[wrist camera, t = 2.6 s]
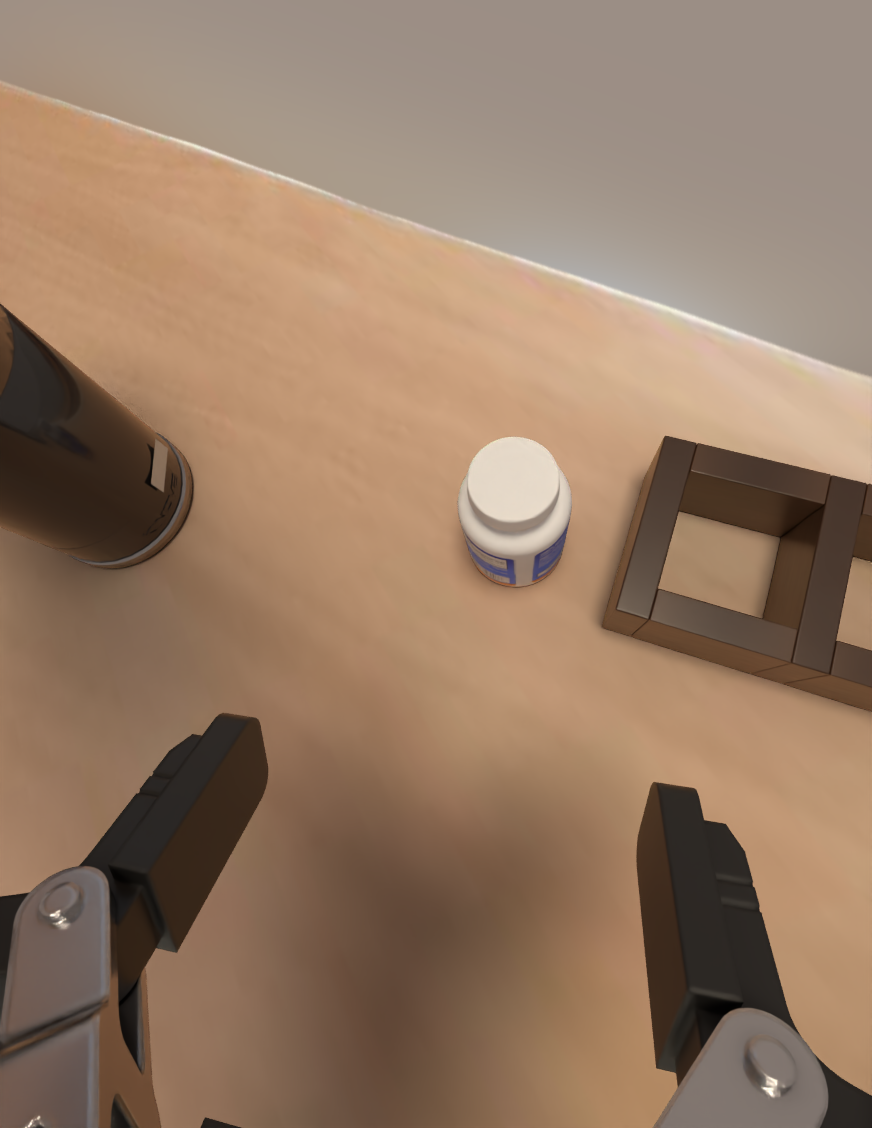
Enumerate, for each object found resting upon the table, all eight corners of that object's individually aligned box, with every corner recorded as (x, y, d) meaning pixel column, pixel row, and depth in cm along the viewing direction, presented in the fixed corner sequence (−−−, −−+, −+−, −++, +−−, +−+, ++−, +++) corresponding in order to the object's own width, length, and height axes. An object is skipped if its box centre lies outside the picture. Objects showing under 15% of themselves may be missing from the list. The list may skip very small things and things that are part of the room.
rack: (601, 627, 33) (614, 609, 28) (645, 475, 35) (664, 434, 30) (951, 736, 29) (1035, 737, 24) (977, 559, 31) (1059, 528, 26)
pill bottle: (551, 492, 35) (562, 406, 26) (573, 579, 34) (593, 520, 24) (460, 511, 36) (440, 434, 26) (478, 598, 34) (463, 548, 25)
